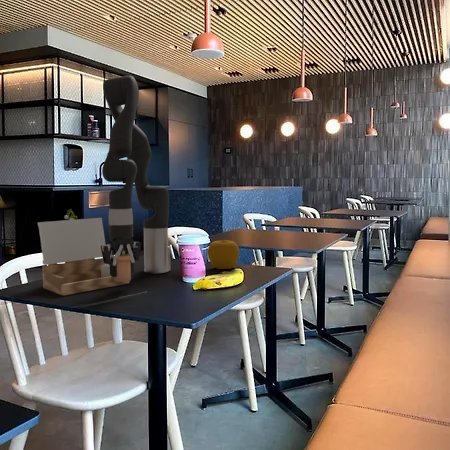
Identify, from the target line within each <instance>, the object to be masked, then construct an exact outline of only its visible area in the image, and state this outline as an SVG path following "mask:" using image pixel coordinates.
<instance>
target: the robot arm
mask: <svg viewBox="0 0 450 450" xmlns="http://www.w3.org/2000/svg"><path fill="white" fill-rule="evenodd" d="M102 91H103V94H104V97H105V101H106V103H107V106H108V109H109V111H110V113H111V115H112V118H113V120H114V123H113V125H112V126H111V129H110V132H109V145H108V146H109V148H108V152H107V155H106V158H105V160H104V162H103V164H102V168H101V169H102V170H101V174H102V177H103V179H104V180H105V181H106V182H108V183H124V186H123V187H121V188H117V189H112V190H110V191H109V194H108V202H109V203H108V207H109V209H108V211H109V212H108V238H109V242H108V244H106V245H102V246H101V252H102V257H101V258H103V261H104V263H105V264H109V265H110V275H111V276H112V277H117V266H116V263H117V261H116V258H118V257H119V256H120V255H122V251H125V255H126V254H127V255H132V259H131V276H132V275H133V274H134V272H135V262H136V261H140V257H141V256H140V255H141V250H142V249H141V248H142V242H140V241H134V239H133V237H134V215H133V206H132V205H133V201H132V199H133V189H134V187H135V192H136V196H137V200H138V204H139V205H140V207H141V208H142V209H143V210H150V211H154V213H153V215H152V216H151V217H149V218H146V219H144V220H143V254H144V255H143V260H144V261H143V263H144V264H143V266H144V268H143V269H144V272H145V273H149V274H163V273H164V274H165V273H168V272H169V271H171V246H169V234H168V233H169V230H168V229H169V228H168V227H169V225H168V223H169V219H170V192H169V190H168V187H166V186H164V185H150V183H149V181H148V175H147V172H148V168H149V166H150V163H151V159H152V150H151V146H150V142H149V139H148V136H147V135H146V133H145V132H144V131H143V130H142V129H141V128H140V127H139V126H138V125H137V124H136V123H135V118H136V114H137V108H138V104H139V98H140V97H139V96H140V94H139V93H140V92H139V86H138V82H137V80H136V79H135V77H134V76H133V75H124V76H118V77H113V78H112V77H111V78H107V79H105V80H104V81H103V83H102ZM122 106H123V107H122ZM124 158H125V159H124ZM132 248H133V250H132ZM110 250H111V252H110ZM115 254H116V255H115ZM112 258H114V259H113V260H112Z"/></svg>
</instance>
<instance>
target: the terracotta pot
mask: <svg viewBox="0 0 450 450" xmlns="http://www.w3.org/2000/svg"><path fill="white" fill-rule="evenodd" d="M115 255H116V254H115ZM113 259H114V258H112V260H113ZM131 259H132V255H127V254H126V255H125V251H122V255H120V256H119V257H118V258H116V261H117V263H116V266H117V277H114V281H116V282H125V281H131V280H132V275H131Z"/></svg>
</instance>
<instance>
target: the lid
mask: <svg viewBox="0 0 450 450" xmlns="http://www.w3.org/2000/svg"><path fill="white" fill-rule="evenodd" d="M37 227H38V230H39V232H38V233H39V237H40V239H39V240H40V247H41V253H42V264H43V266H48V264H55V263H57V264H63V263H65V262H70V261H77V260H84V259H92V258H95V259H100V258H103V257H102V252H101V246H102V245H107V244H106V238H105V232H104V225H103V218H102V217H94V218H93V217H92V218H80V219H78V218H77V219H76V220H68V219H65V220H64V219H63V220H55V221H54V220H53V221H51V220H50V221H40V222H39V221H38V222H37Z"/></svg>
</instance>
